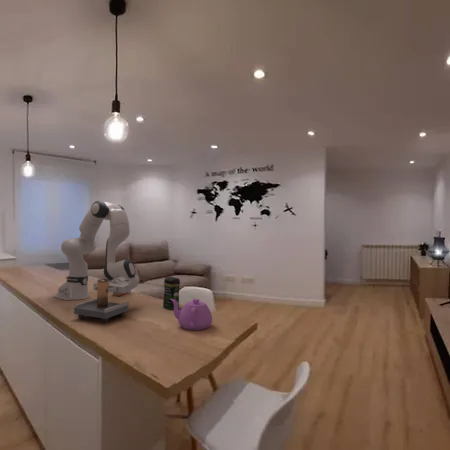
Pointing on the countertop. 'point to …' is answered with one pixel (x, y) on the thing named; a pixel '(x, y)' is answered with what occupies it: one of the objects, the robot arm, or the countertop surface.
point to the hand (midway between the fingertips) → (101, 289)
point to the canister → (102, 293)
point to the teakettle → (193, 315)
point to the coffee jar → (171, 292)
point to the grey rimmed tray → (100, 310)
